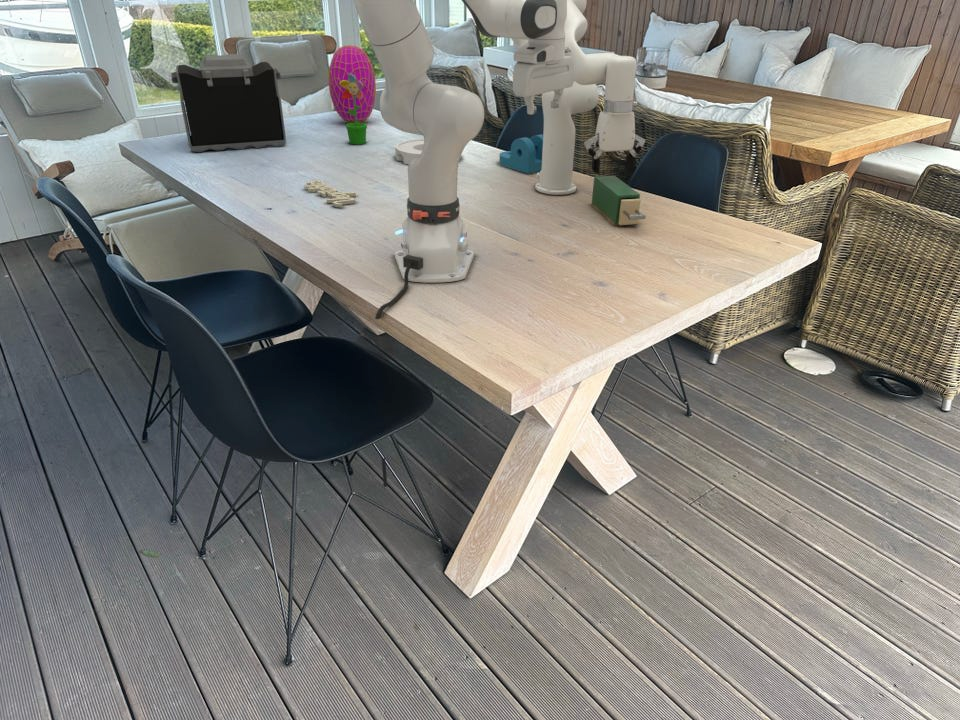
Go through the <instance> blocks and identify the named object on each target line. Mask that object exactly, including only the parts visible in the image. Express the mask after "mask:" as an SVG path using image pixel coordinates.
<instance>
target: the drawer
mask: <svg viewBox="0 0 960 720" xmlns="http://www.w3.org/2000/svg"><path fill="white" fill-rule="evenodd" d="M640 207H641V199H634V198H620V207H619V215H618V221H619V222H618V224H619V225H622V226H630V225H629V224H636V225H637V224H638V222H639V220H646V218H647V215H646V213H642V212H641V211H640Z"/></svg>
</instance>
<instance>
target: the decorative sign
mask: <svg viewBox="0 0 960 720" xmlns="http://www.w3.org/2000/svg"><path fill="white" fill-rule="evenodd" d="M303 187H304V190H307V192H308V193H315V192H316V193H317V195H318V196H319V197H320V196H322V197H323V198H326V196H327V197H328V198H326V203H327V204H333V207H335V208H343V207H344V206H343V205H351V204H354V203H356V198H354V197H356V191H346V192H345V191H341V190H338V189H337V188H336V187H333V186H330V185H329V184H327V183H326V182H323V181H321V180H319V179H315V180H312V181H306V184H305V185H304V186H303Z"/></svg>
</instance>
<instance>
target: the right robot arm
mask: <svg viewBox="0 0 960 720" xmlns="http://www.w3.org/2000/svg"><path fill="white" fill-rule="evenodd" d="M587 4H588V0H567V17H566V21H565V25H564V30H565V48H566V47H568V48H569V49H570V50H571V52H572V58H573V60H574V83H573V85H572V87H568V88H564V92H563V95H562V98H561V100H560V107H559V108H551V100H553V98H554V94H555V93H554V91H551V92H547V93H542V94H541V106H542V115H543V151H542V169H541V171H539V172H536V173H535V176H536V177H537V178H539V181H538V182H536V183H535V186H534V187H535V190H536V191H537V192H539V193H541V194H546V195H551V196H552V195H553V196H565V195H571V194H573V193H575V192H576V191H577V185H576V184H575V183H574V182H573V173H574V172H573V171H574V159H575V158H574V157H575V147H576V125H575V123H574V120H573V118H572V115H574V114H582V113H588V112H590V111H592V110H593V109H595V108H596V107H597V105H598V103H599V99H600V97H599V96H600V94H599V93H600V92H599V88H598V86H597V85H600V84H605V87H604V99H603V111H600V112H599V115H598V118H597V124H596V128H595V133H594V135H593V136H591V137H590V138H588V139H587V140H585V141H584V142H583V145H584V147H585V150H586V152H587V153H588V154H589V156H590V157H591V170H592V172H593V173H594V174H597V175H598V174H599V173H600V166H601V159H600V156H601V155H602V154H603V153H606V152H607V153H608V152H625V151H626V152H627V154H626V158H625V166H624V168H625V170H626V171H627V172H629V173H631V172H633V168H634V167H635V166H634V165H635V158H636V157H637V155H638V154H639V153H640V151H641V150H642V148H643V146H644V145H645V143H646V139H645V138H643V137H641V136H639V135H638V134H636V119H635V112H634V111H633V110H634V108H637V107H638V101H635V100H634V94H635V84H636V74H637V59H636V58H635V57H634V56H629V55H619V54H616V53H613V52H598V53H597V52H596V53H585V52H584V51H583V50H582V49H581V48H580V46H579V45H578V43H579V41H580V40H581V39H582V38H583V37H584V35H585V34H586V32H587V30H588V25H589V23H588V20H587V18H586V17H585V16H584V12H585V11H586V8H587ZM510 40H511V41H512V42H513V44H514V46H516V48H517V50H518V49H520V48H521V47H522V46H523V45H525V44H526V43H527V42H528V40H525V39H513V38H510ZM635 141H636V142H637V144H636V145H635ZM592 145H594V147H595V148H594V149H593V147H592Z"/></svg>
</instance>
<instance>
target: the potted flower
mask: <svg viewBox="0 0 960 720" xmlns="http://www.w3.org/2000/svg"><path fill="white" fill-rule="evenodd" d="M348 78H349V81H346V80H342V81H341V82H340V83H339V84H340V85H341V86H342V87H343V88H346V89H347V90H345V91H344V93H343V94H342V97H341V99H348V98H350V97H351V96H352V95H353V100H354V110H349V111H348V112H349V114H351V115H355V123H349V122H348V123H347V124H346V125H345V128H346V131H347V136H348V141H349V144H352V145H363V144H366V143H367V129H368V124H367V123H366V122H365V123H364V122H361V123H357V116H356V110H358V109H359V106H356V103H355V95H356V97H357V98H358V99H359V100H362V98H363V93H362V92H361V91H360V90H361V89H363V84H362V82H361V81H358V82H357V83H356V78H355V76H354V75H352V74H350V73H348Z"/></svg>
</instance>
